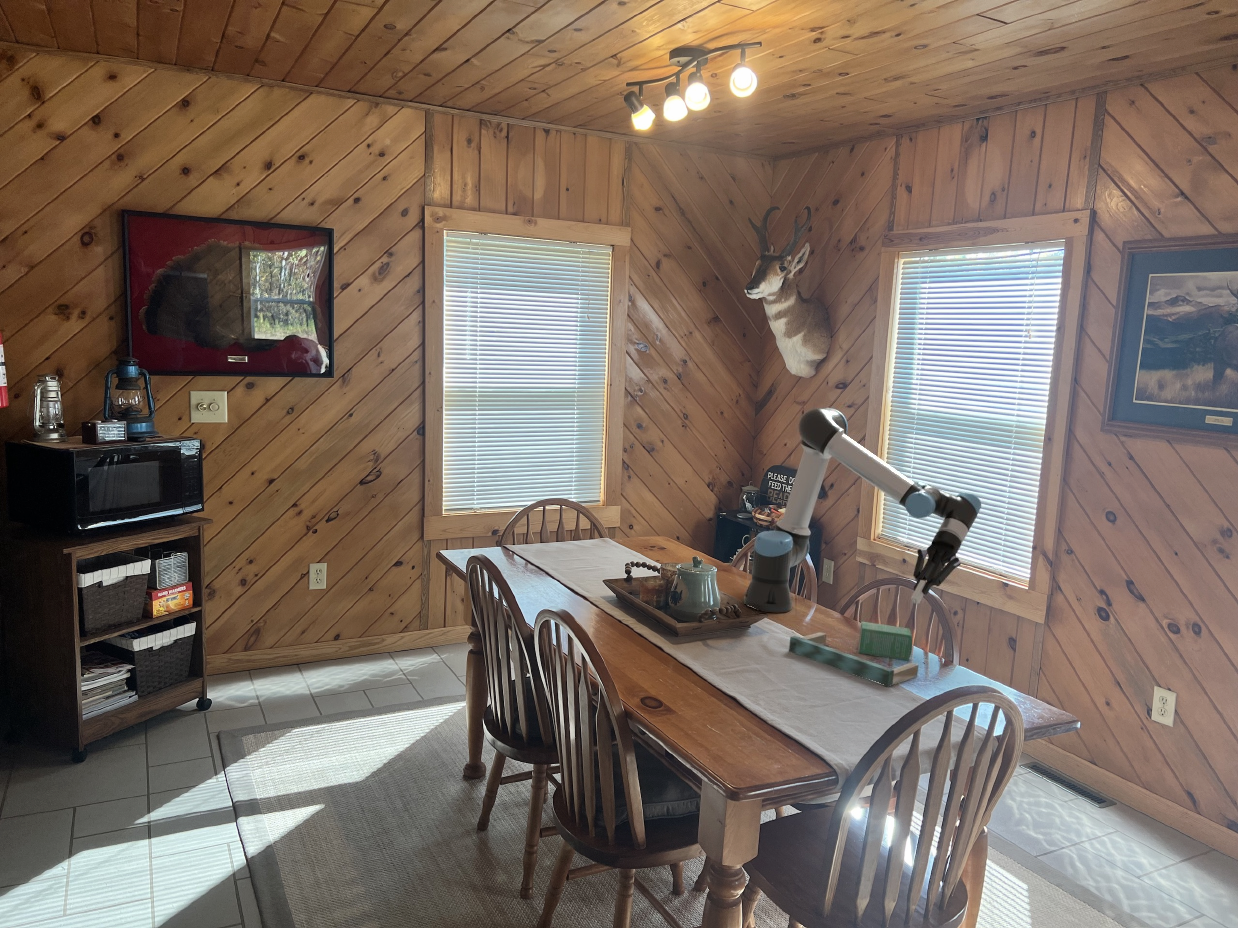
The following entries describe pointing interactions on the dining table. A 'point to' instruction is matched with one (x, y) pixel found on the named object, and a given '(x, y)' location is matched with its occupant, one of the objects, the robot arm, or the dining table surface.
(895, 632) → the box
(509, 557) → the dining table surface
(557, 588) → the dining table surface
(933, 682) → the dining table surface
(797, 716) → the dining table surface
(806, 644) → the bay
